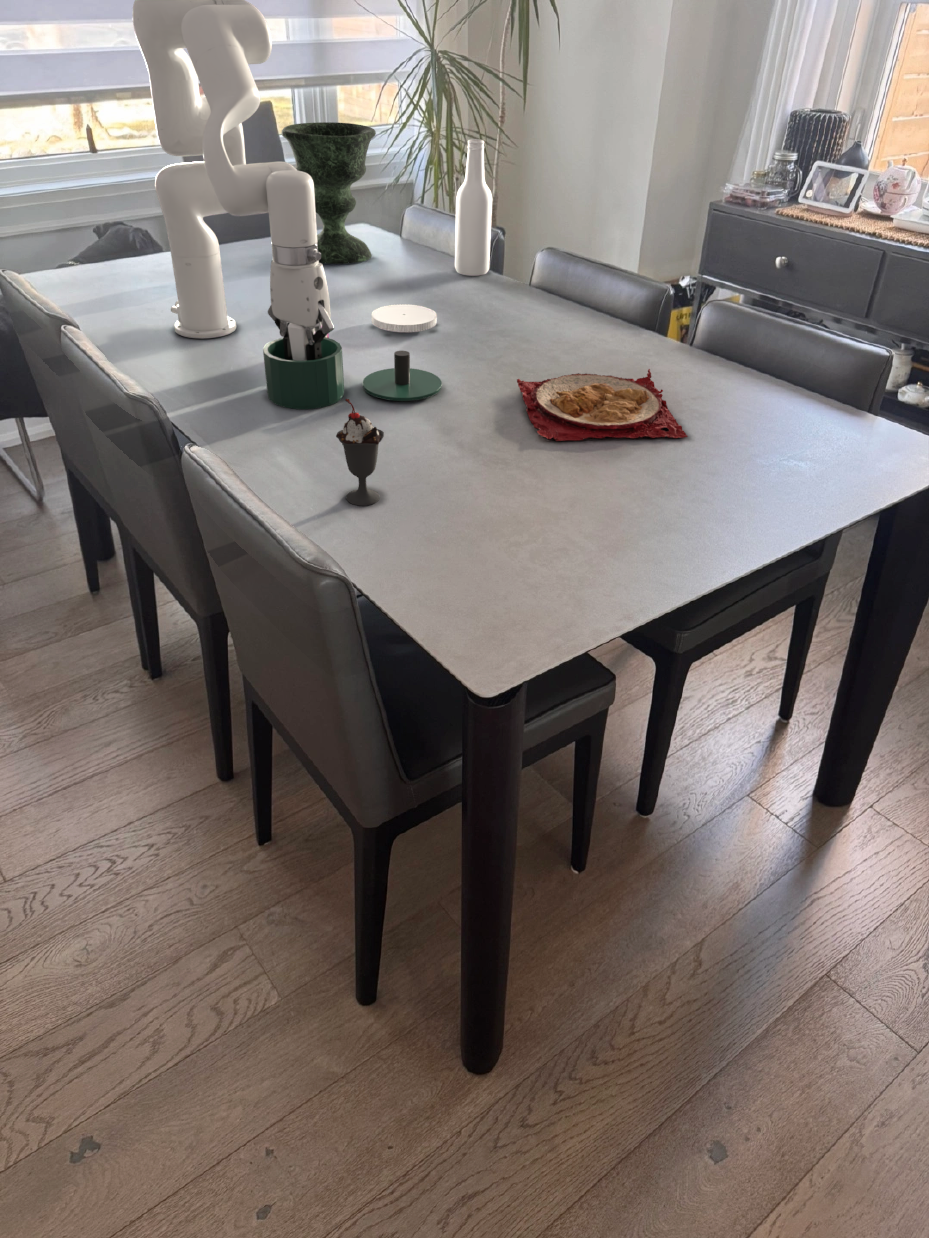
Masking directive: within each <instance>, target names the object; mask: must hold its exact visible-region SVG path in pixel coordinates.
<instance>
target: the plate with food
mask: <svg viewBox="0 0 929 1238" xmlns="http://www.w3.org/2000/svg"><path fill="white" fill-rule="evenodd" d="M652 377H653V376H652V372H651V369H650V368H648V370H647V373H646V376H645V377H644V376H643V377H639V378H636V380H635V378H627V377H625V378H624V377H619V376H614V375H605V374H603V375H601V374H596V373H594V374H593V373H579V372H578V373H571V374H563V375H561V376H557V377H553V378H547V379H544V380H542V381H525V380H521V378H517V379H516V383H517V385H518V387H519V391H520V393H522V400H523V402H524V404H525V406H526V407H525V408H526V412H527V416H528V419H529V421H530V423H531V424H532V425H533V428H534V429H538V430H537V431H536V432H537V434H538V435H539V436H541V437H544V438H546V439H547V440H551V439H552V438H553V439H554V440H555V441H556V442H561V441H563V442H564V441H584V440H585V439H589V438H590V439H591V438H592V439H594V438H595V439H605V438H606V437H608V438H612V439H613V438H617V439H621V438H626V439H627V438H630V439H638V438H643V437H648V438H650V439H655V438H661V437H662V438H665V437H667V438H669V439H670V438H673V439H678V438H680V439H685V438H688V437H689V436H688V434H687V432H685V430H683V426H682V425H681V424H679V422H678V421H677V419H676V418H675V417H674V414H672V412H671V411H670V409H669V408H668V405H667V400H664V399H663V394H662V393H663V392H664V390H663V389H662V388H661V389H660V390H659V389H658V388H656V387H655V382H654V381H653V380H652ZM664 428H667V429H668V430H667V431H666V430H663V429H664Z"/></svg>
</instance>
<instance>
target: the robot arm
mask: <svg viewBox="0 0 929 1238" xmlns="http://www.w3.org/2000/svg"><path fill="white" fill-rule="evenodd" d="M131 16H132V25H133V31H134V35H135V38H136V41H137V45H138V47H139V49H140V52H141V55H142V57H143V59H144V62H145V66H146V68H147V73H148V78H149V86H150V95H151V101H152V109H153V116H154V124H155V131H156V136H157V140H158V143H159V146H160V148H161V149H162V151H164V152H165V154H167V155H169V156H172V157H195V156H197V157H198V156H202V159H203V161H192V162H180V163H174V164H173V163H172V164H170V165H167V166H164V167H163V168H162V169H160V170H159V171H158V173H157V174H156V176H155V179H154V187H155V193H156V197H157V200H158V203H159V207H160V209H161V213H162V216H163V219H164V223H165V228H166V233H167V238H168V244H169V251H170V257H171V264H172V270H173V276H174V283H175V289H176V296H177V301H175V303H174V305H171V307H170V312H171V314H176V315H177V319H178V320H176V322H175V323H174V325H173V327H174V332H175V333H176V334H177V335H180V336H181V337H185V338H190V339H214V338H220V337H224V336H227V335H230V334H232V333H233V332H235V331H236V330H237V322H236V321H237V320H235V319H234V318H232V317H230V316H229V315H228V309H227V299H226V292H225V284H224V275H223V267H222V259H221V252H220V244H219V240H218V237H217V236H216V233H215V231H213V230H212V228H211V227H210V226H209V225H208V224H207V223H206V222H205V221H204V218H206V217H210V216H217V215H223V214H229V215H231V216H233V217H246V216H254V215H263V214H268V220H269V232H270V234H269V235H270V241H271V244H270V245H271V255H272V260H271V262H270V271H269V273H270V274H269V294H270V295H269V296H270V306H269V308H268V310H267V315H268V316H269V317H270V318H271V319H272V320H273V321H274V324H275V325H276V327H277V329H278V330H279V335H280V336H281V338H283V343H284V354H285V359H287V360H290V359H292V351H291V345H290V338H289V332H288V325H289V323H294V324H297V325H301V326H304V327H305V331H306V335H307V339H308V344H306V355H307V360H316V359H321V358H322V353H321V341H323V340H324V337H325V336H326V335H327V334H328V333H329V334H330V333H331V332H332V331H334V330H335V325H334V324H333V322H332V320H331V318H332V313H331V301H330V294H329V287H328V281H327V275H326V272H325V268H324V265H323V263H319V260H320V259H321V253H320V252H318V244H317V235H318V228H317V216H316V215H317V213H316V211H315V195H314V183H313V180H312V178H311V176H310V175H309V174H307V173H305V172H302V171H297V169H296V168H295V167H296V166H294V165H292V164H291V163H289V162H287V161H269V162H268V161H267V162H256V163H247V161H246V160H247V159H246V148H245V147H246V146H245V136H244V127H243V123H244V122H246V121H247V120H248V119H249V118H251V117H252V116H253V115H254V114H255V113H256V112H257V110H258V109H259V107H260V104H261V95H260V91H259V88H258V86H257V84H256V81H255V78H254V76H253V73H252V71H251V67H250V66H249V65H261V64H263V63H266V62H267V61H268V60H269V59H270V57H271V54H272V51H273V50H272V49H273V40H272V39H273V37H272V33H271V29H270V26H269V24H268V22H267V19H266V18H265V16H264V15H263V13H262V11H260V9H259V8H257V7H256V6H255V5H254V4H253V3H251V2H249V1H247V0H134V2H133V5H132V14H131ZM184 49H186V51H187V52H186V51H185V50H184ZM199 85H200V86H199ZM200 87H201V89H202V91H203V94H204V96H202V97H201V94H200V93H201V92H200ZM320 322H321V324H322V328H321V324H320ZM313 328H314V329H315V334H313V330H312V329H313Z"/></svg>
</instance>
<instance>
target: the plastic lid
mask: <svg viewBox="0 0 929 1238" xmlns="http://www.w3.org/2000/svg"><path fill="white" fill-rule="evenodd" d="M370 317H371V318H370V321H371V324H372V325H373V326H374V327H376V328H378V329H380V330H383V331H387V332H393V333H417V332H422V331H427V330H429V329H430V330H431V329H432V328H434V327H435V326H436V325H437V322H438V321H437V320H438V314H437V312H436V311H435V310H433V309H431V308H429V307H426V306H422V305H418V304H417V305H416V304H402V303H401V304H390V305H384V306H380V307H377V308H375V309H374V310H373V311H371V315H370Z"/></svg>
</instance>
